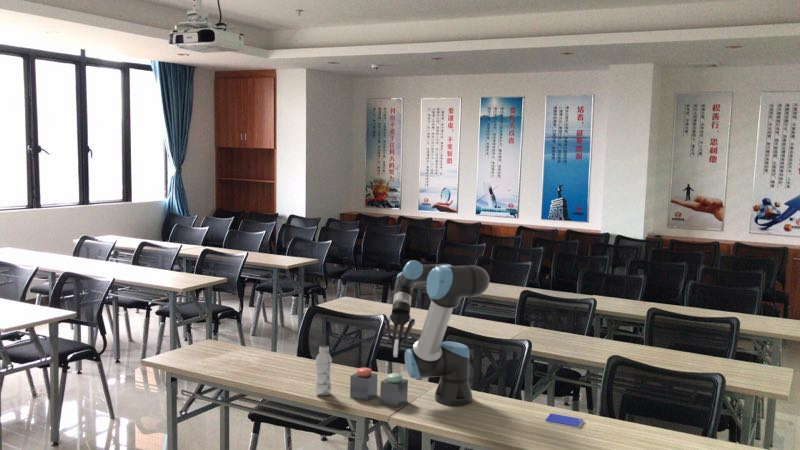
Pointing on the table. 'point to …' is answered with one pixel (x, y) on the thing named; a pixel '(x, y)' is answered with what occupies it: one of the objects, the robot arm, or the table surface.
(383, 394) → the green button post
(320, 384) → the plastic bottle
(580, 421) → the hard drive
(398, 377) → the green button
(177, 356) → the table surface
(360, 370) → the red button
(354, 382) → the red button post
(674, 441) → the table surface
